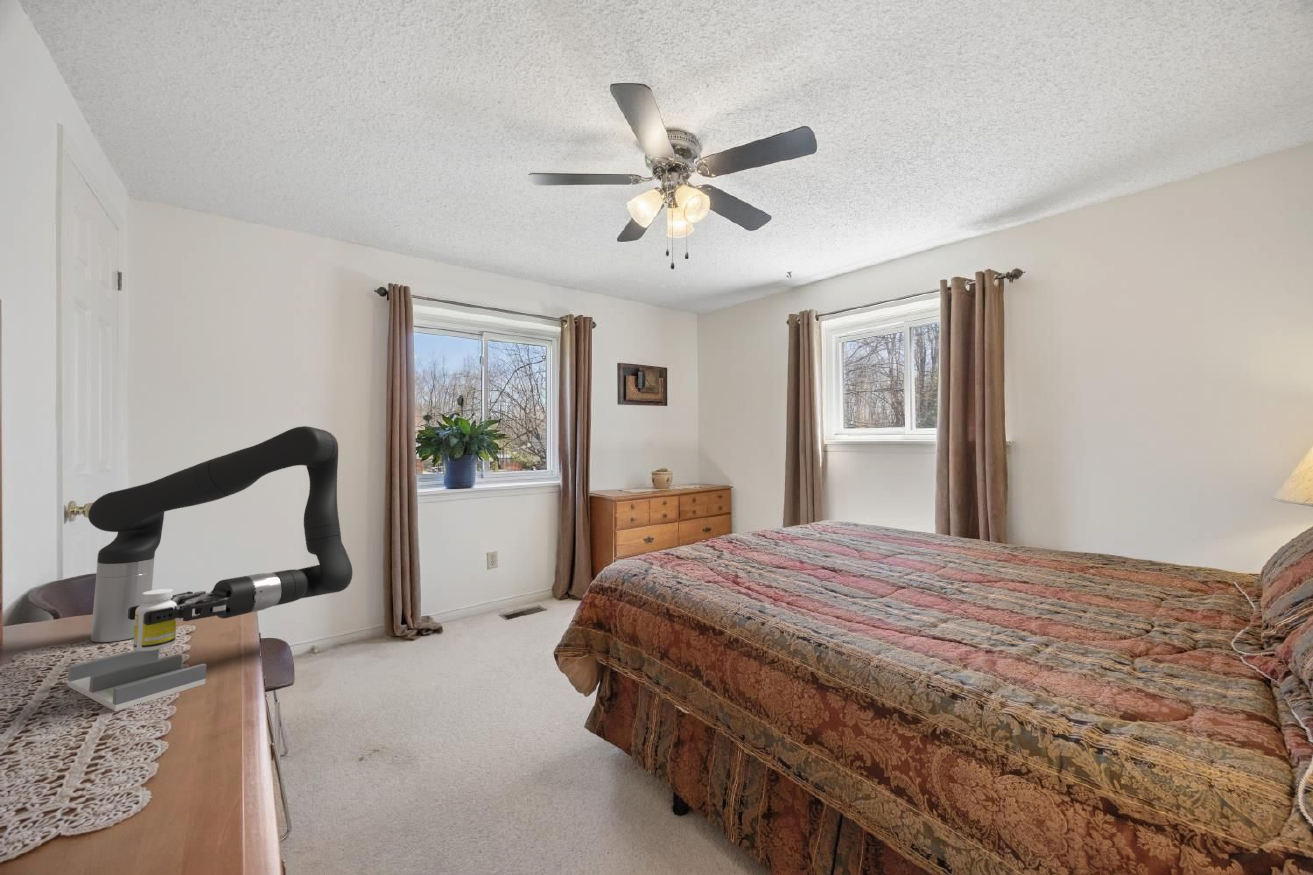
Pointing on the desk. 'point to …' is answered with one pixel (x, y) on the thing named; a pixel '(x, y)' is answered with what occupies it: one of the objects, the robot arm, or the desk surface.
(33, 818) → the desk surface
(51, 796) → the desk surface
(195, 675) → the divided tray
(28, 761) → the desk surface
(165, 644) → the supplement bottle
